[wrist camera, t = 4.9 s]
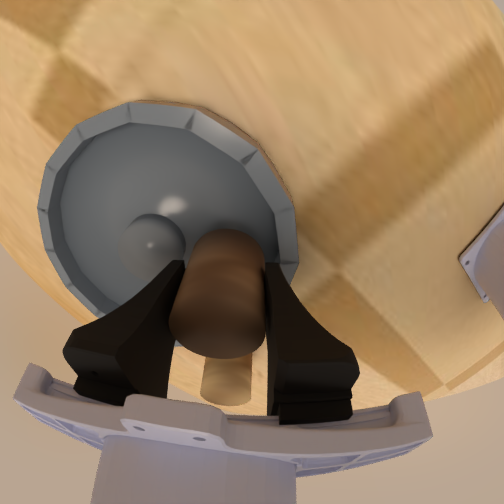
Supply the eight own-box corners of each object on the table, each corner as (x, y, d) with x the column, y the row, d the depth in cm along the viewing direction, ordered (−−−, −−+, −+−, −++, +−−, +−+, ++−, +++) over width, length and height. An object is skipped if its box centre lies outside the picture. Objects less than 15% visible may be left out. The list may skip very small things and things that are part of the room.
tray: (349, 210, 16) (361, 229, 14) (207, 349, 24) (204, 370, 22) (109, 55, 10) (88, 53, 8) (45, 256, 18) (31, 272, 16)
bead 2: (261, 345, 23) (261, 395, 19) (236, 364, 25) (233, 409, 21) (222, 327, 22) (215, 379, 18) (200, 348, 24) (191, 395, 19)
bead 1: (271, 235, 14) (276, 306, 10) (256, 293, 16) (255, 363, 12) (194, 222, 14) (167, 288, 9) (190, 282, 16) (170, 350, 12)
